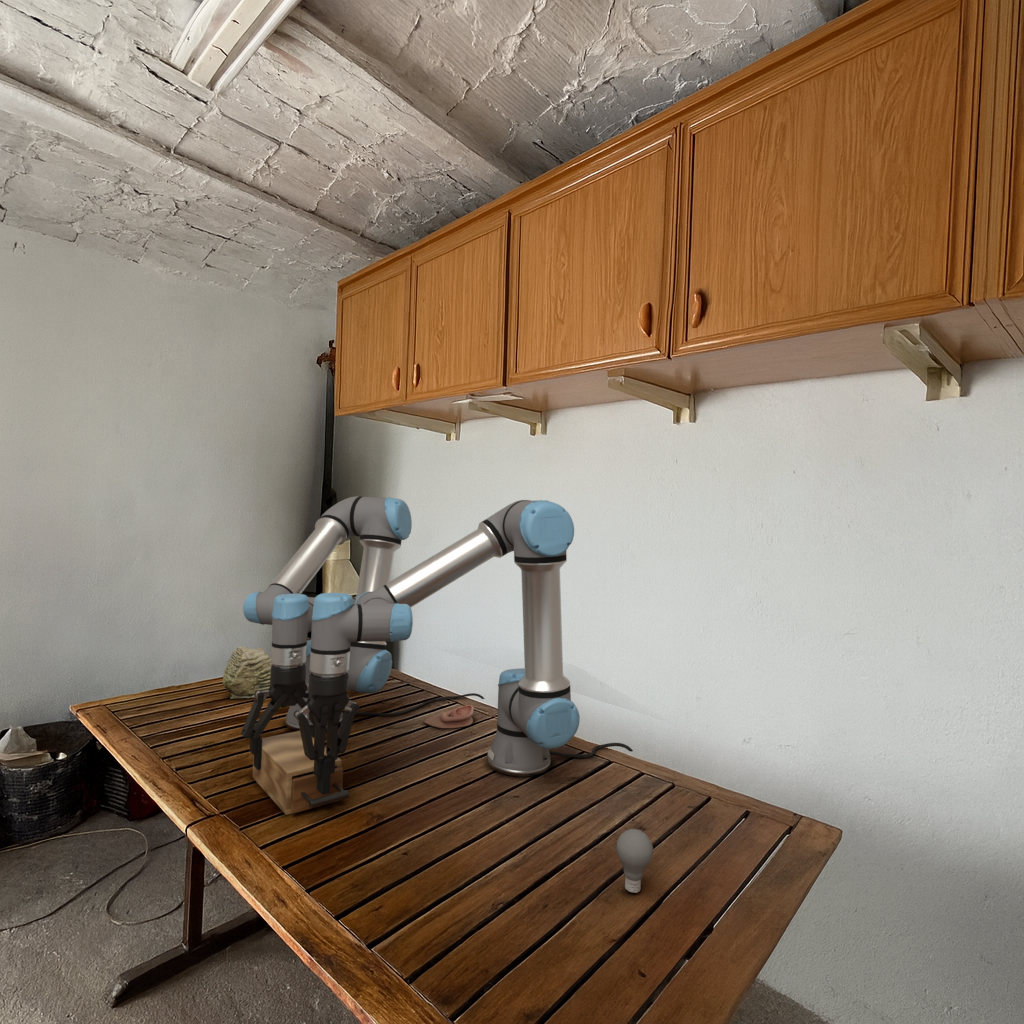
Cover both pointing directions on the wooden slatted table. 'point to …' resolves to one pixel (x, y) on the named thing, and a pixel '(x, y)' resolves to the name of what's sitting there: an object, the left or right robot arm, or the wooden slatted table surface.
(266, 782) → the cabinet
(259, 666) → the fossil
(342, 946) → the wooden slatted table surface
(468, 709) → the anatomical model
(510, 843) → the wooden slatted table surface
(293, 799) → the drawer
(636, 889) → the light bulb
